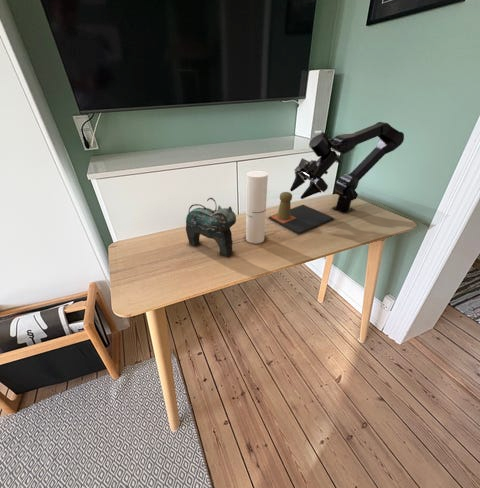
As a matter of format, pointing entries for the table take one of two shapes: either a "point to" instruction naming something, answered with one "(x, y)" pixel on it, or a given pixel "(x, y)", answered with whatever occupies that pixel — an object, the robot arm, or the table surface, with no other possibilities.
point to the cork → (285, 206)
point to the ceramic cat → (211, 226)
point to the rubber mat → (303, 219)
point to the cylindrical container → (256, 205)
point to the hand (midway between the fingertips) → (295, 194)
